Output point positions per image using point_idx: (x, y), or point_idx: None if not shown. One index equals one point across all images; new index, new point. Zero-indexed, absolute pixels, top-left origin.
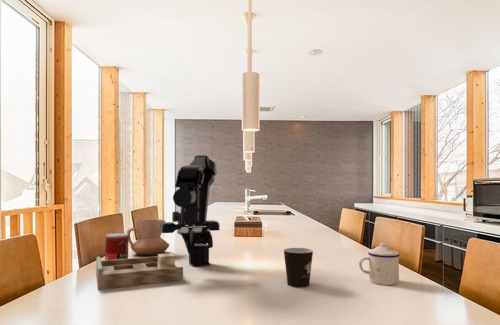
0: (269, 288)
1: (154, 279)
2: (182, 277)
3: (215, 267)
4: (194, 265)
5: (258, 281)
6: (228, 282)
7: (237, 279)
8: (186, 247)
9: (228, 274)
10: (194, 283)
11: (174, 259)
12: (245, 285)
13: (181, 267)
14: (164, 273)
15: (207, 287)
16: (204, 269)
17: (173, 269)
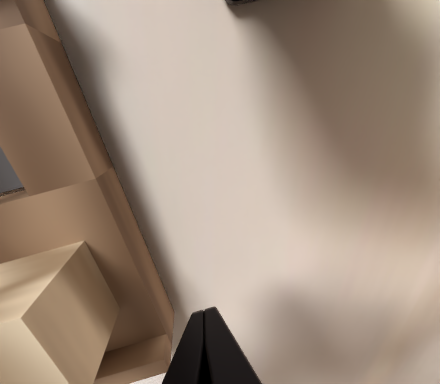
0: (427, 379)
1: None
2: (171, 324)
3: (365, 59)
4: (236, 3)
5: (436, 322)
6: (340, 331)
7: (383, 299)
8: (173, 375)
9: (378, 228)
10: None
11: (94, 372)
12: (379, 358)
13: (160, 371)
14: None
15: (261, 376)
16: (290, 106)
17: (118, 380)
